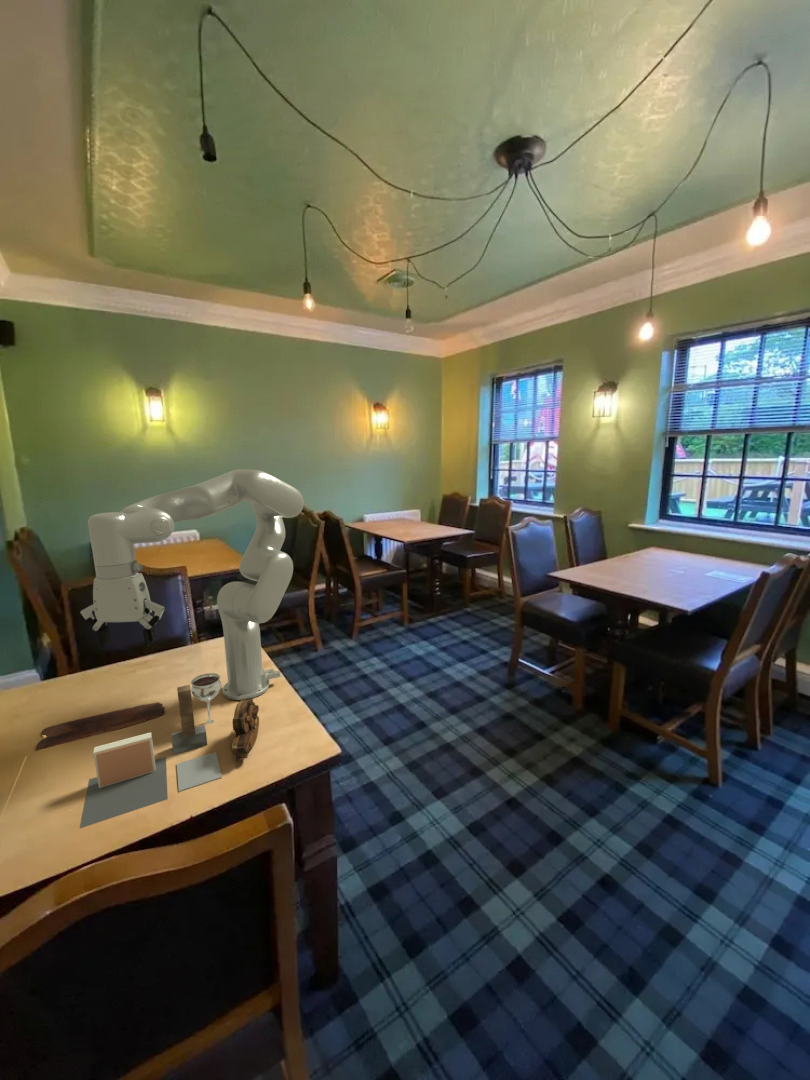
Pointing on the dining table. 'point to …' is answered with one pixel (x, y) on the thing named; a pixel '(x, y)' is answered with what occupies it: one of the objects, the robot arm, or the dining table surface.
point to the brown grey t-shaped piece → (187, 725)
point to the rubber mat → (124, 795)
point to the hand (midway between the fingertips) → (128, 644)
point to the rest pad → (198, 771)
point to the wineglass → (206, 689)
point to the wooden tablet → (98, 724)
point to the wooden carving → (245, 727)
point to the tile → (124, 759)
